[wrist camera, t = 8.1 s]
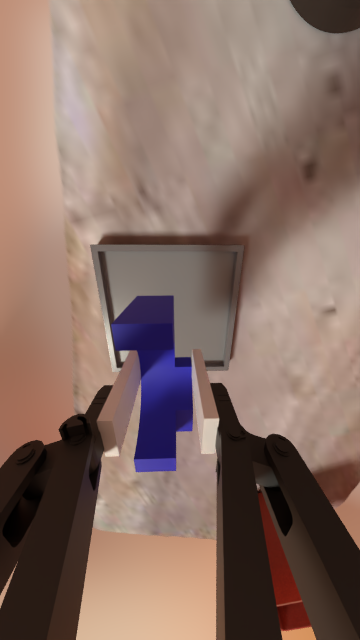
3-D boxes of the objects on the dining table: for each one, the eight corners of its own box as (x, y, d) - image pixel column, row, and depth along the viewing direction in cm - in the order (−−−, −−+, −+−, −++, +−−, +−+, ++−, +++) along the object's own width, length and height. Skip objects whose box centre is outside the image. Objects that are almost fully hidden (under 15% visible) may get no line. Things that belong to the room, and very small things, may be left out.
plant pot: (299, 473, 45) (367, 591, 29) (311, 506, 51) (371, 617, 36) (231, 492, 47) (259, 610, 32) (251, 521, 54) (282, 631, 38)
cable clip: (189, 403, 18) (196, 470, 13) (148, 405, 18) (136, 472, 13) (191, 295, 14) (203, 322, 8) (137, 295, 14) (111, 324, 8)
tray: (96, 245, 23) (90, 244, 22) (239, 245, 24) (244, 245, 22) (116, 364, 31) (112, 372, 29) (225, 363, 31) (228, 370, 29)
